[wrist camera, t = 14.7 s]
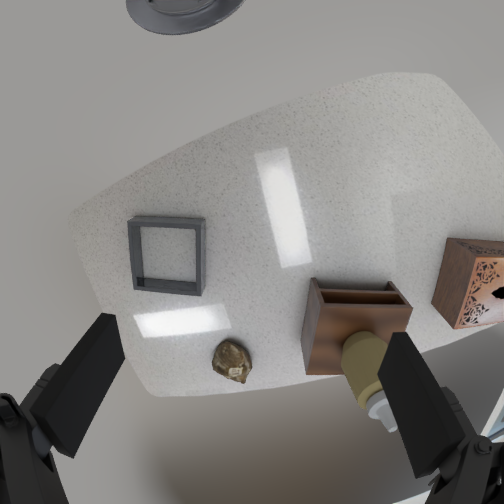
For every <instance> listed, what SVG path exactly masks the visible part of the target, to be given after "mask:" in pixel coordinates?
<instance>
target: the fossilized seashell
mask: <svg viewBox="0 0 504 504" xmlns="http://www.w3.org/2000/svg"><path fill="white" fill-rule="evenodd" d="M212 366H213V370H214V371H216V372H217V373H219V374H221V375H223V376H224V377H226V378H227V379H229V378H230V379H231V380H234V381H237V382H241V383H242V384H244V383H245V382H246V378H247V375H248V374H249V372H250V371H251V369H252V363H251V359H250V356H249V354H248V353H247V352H246V350H244V349H243V348H242V347H240V346H238V345H236V344H233V343H231V342H229V341H228V342H223V343H221V344H220V345H219V346H218V348H217V349H216V351H215V354H214V358H213V361H212Z"/></svg>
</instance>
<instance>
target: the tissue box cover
mask: <svg viewBox="0 0 504 504" xmlns="http://www.w3.org/2000/svg"><path fill="white" fill-rule="evenodd" d="M431 304H432V305H433V306H434V307H435V308H436V310H437V311H438V312H439V313H440V314H441V315H442V316H443V318H444V319H445V320H446V321H447V322H448V323H449V325H450V326H451V327H452V328H453V329H461V328H468V327H475V326H481V325H488V324H493V323H499V322H504V242H500V241H486V240H472V239H456V238H447V242H446V247H445V252H444V256H443V261H442V265H441V269H440V273H439V277H438V281H437V285H436V289H435V292H434V296H433V299H432V303H431Z"/></svg>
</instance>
